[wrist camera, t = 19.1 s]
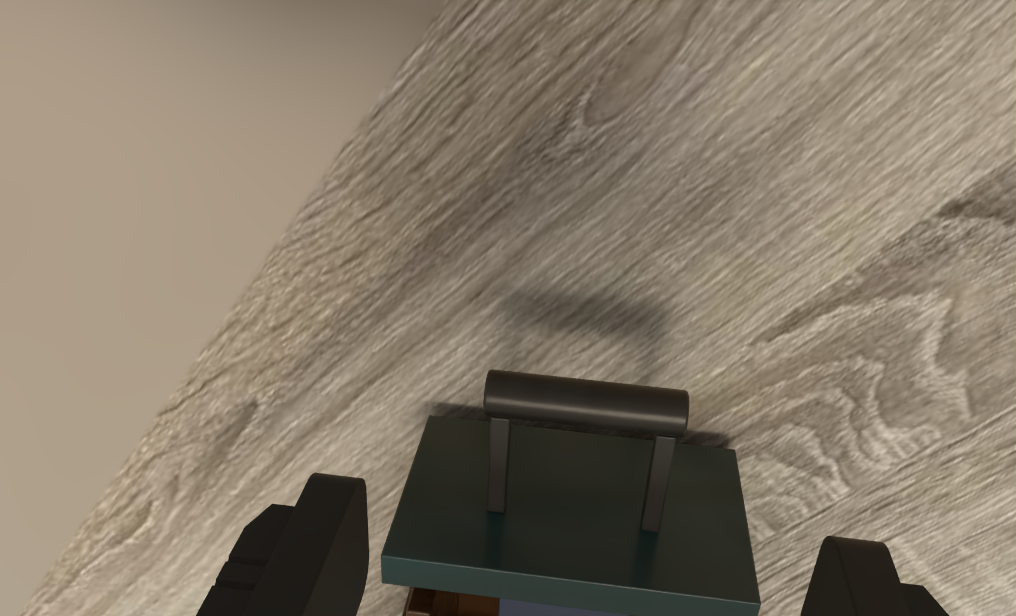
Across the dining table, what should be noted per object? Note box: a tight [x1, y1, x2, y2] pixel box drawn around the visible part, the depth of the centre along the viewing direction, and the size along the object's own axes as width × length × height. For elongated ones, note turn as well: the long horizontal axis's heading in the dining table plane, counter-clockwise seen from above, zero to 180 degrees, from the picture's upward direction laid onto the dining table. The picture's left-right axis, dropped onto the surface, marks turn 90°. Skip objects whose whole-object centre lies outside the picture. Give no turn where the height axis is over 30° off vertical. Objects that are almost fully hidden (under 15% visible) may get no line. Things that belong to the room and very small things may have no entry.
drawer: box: [381, 370, 761, 616], centre depth 31 cm, size 19×11×7 cm, turn 177°
